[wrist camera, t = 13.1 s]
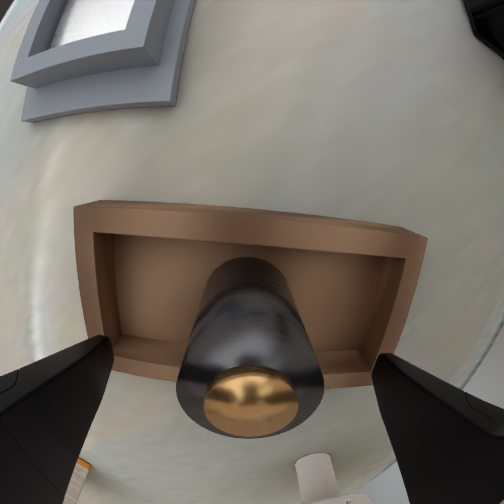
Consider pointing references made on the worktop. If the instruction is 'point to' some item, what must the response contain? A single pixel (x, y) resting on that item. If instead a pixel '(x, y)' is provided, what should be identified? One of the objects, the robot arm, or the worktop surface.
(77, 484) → the supplement box
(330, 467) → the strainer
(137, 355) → the walnut trough
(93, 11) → the plate
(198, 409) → the cylinder
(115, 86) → the frame
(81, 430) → the robot arm
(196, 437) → the worktop surface
